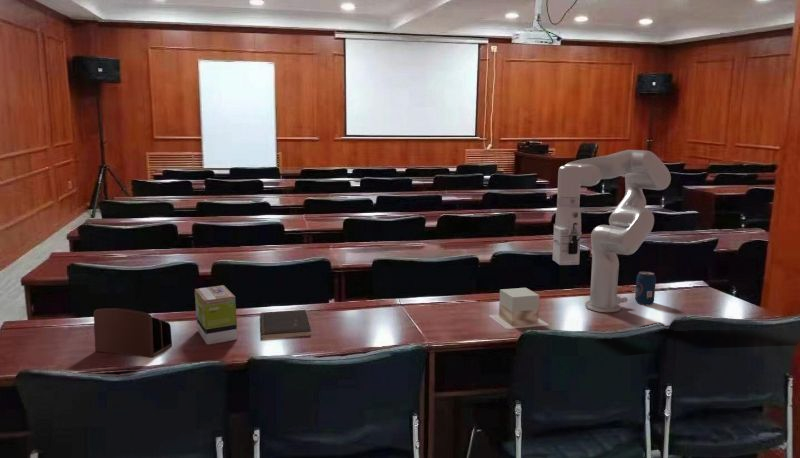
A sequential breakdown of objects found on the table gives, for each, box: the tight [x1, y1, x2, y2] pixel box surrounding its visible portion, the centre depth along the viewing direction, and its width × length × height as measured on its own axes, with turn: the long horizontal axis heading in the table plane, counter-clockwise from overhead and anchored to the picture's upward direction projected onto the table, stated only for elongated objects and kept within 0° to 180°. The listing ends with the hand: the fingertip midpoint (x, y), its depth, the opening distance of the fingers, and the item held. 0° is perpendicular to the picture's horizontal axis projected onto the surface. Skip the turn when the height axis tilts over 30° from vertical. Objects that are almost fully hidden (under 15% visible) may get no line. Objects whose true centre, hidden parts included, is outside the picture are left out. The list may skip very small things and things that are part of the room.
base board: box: [488, 314, 550, 330], centre depth 215 cm, size 16×15×1 cm
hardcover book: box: [259, 309, 312, 340], centre depth 210 cm, size 16×23×2 cm
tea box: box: [194, 284, 238, 345], centre depth 199 cm, size 15×10×15 cm
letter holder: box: [93, 307, 173, 359], centre depth 187 cm, size 10×20×14 cm, turn 77°
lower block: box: [498, 303, 540, 326], centre depth 214 cm, size 10×10×5 cm
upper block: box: [499, 287, 540, 312], centre depth 214 cm, size 10×10×5 cm
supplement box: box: [552, 226, 581, 266], centre depth 215 cm, size 7×7×13 cm
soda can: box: [634, 270, 657, 305], centre depth 239 cm, size 7×7×12 cm
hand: (566, 251), depth 216 cm, fingers closed on supplement box, 8 cm apart
